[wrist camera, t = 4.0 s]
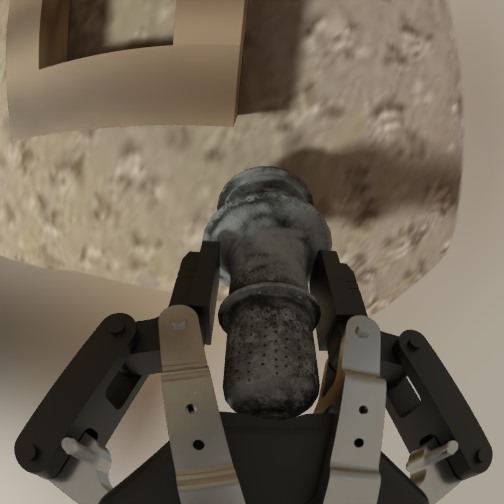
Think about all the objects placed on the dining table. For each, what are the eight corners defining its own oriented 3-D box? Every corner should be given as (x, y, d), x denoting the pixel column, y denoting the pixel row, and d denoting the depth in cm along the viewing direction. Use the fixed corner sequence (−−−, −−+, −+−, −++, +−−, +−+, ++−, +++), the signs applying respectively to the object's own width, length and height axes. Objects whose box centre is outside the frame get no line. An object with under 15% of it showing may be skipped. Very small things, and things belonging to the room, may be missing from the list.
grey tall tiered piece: (201, 169, 14) (118, 408, 5) (316, 155, 14) (412, 394, 4) (223, 257, 18) (200, 461, 9) (319, 247, 17) (360, 453, 8)
